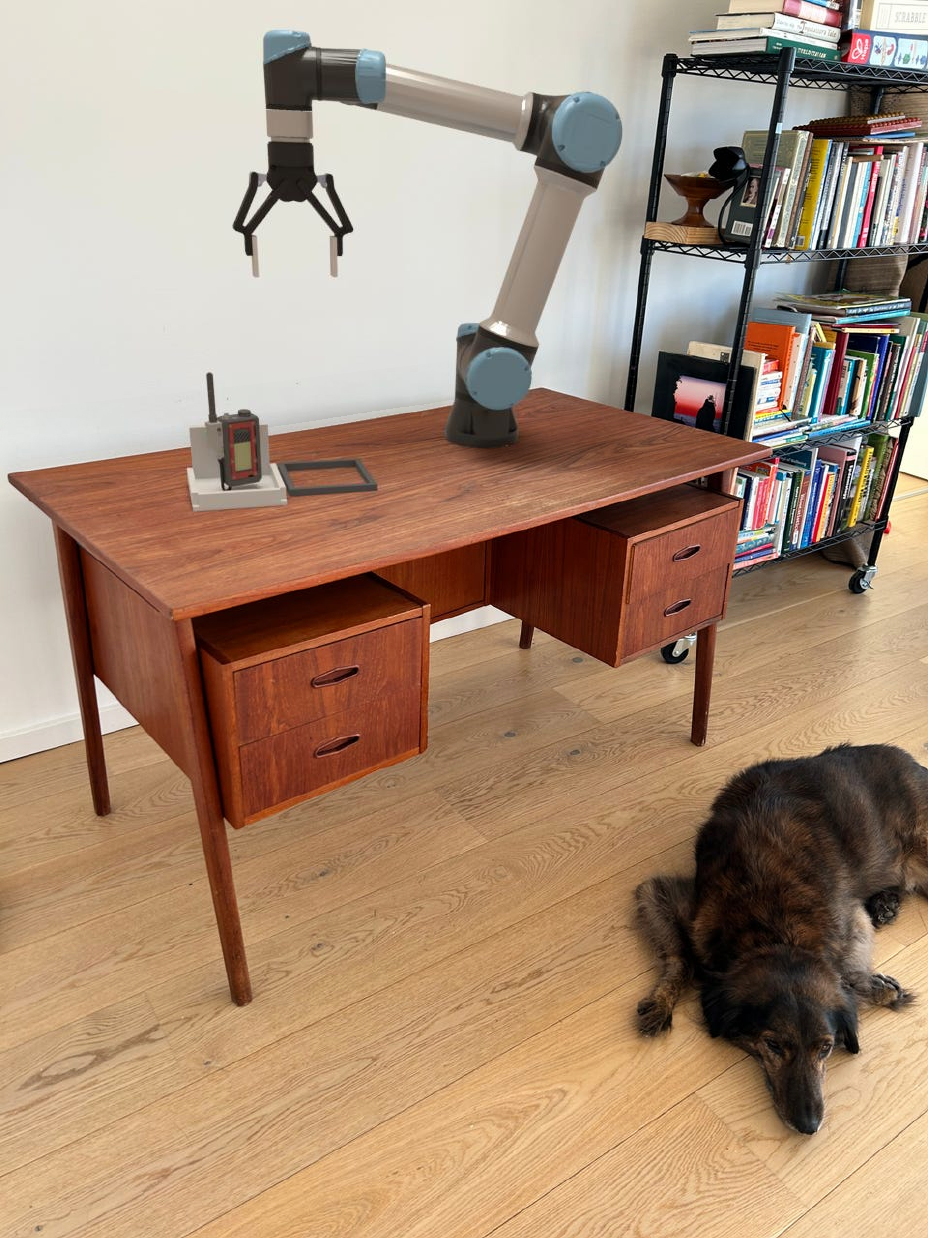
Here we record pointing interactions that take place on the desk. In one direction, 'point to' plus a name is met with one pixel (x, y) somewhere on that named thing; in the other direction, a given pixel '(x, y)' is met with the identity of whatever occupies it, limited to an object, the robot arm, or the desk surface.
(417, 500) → the desk surface
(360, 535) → the desk surface
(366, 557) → the desk surface
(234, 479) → the walkie-talkie
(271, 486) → the dock
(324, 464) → the grey square frame
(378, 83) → the robot arm
